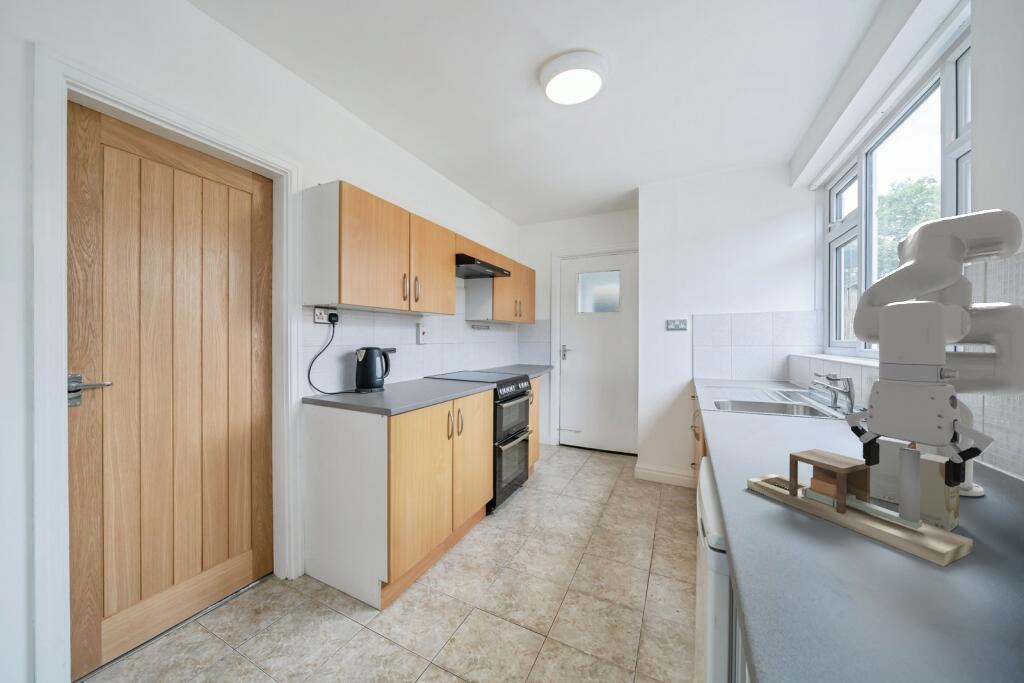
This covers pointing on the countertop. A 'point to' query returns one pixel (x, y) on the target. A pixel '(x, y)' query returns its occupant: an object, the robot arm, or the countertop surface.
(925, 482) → the skincare box
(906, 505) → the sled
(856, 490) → the tunnel
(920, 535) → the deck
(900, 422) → the robot arm
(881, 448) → the small box
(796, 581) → the countertop surface
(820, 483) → the block
